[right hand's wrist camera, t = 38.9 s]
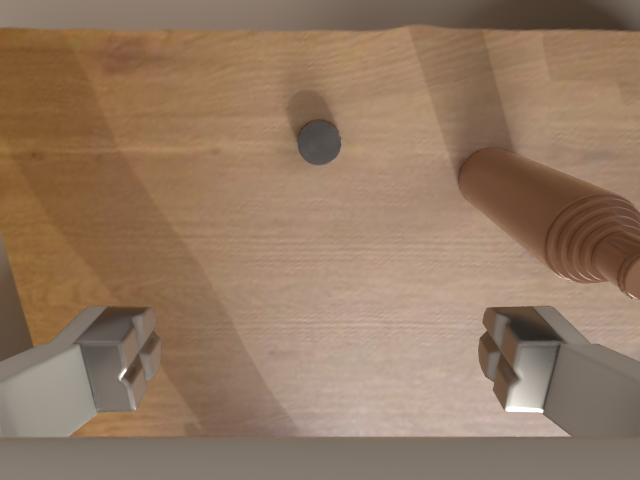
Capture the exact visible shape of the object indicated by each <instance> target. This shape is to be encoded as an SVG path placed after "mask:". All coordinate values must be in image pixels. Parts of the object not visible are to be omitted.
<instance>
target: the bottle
mask: <svg viewBox="0 0 640 480" xmlns="http://www.w3.org/2000/svg"><path fill="white" fill-rule="evenodd" d="M459 188H460V191H461V193H462V195H463V197H464V198H465V199H466V200H467V201H469V202H470V203H471V204H472V205H473V206H475V207H476V208H477V209H478V210H479V211H481V212H482V213H483V214H484V215H485V216H486V217H488V218H489V219H490V220H491V221H492V222H494V223H495V224H496V225H497V226H498V227H500V228H501V229H502V230H503V231H504V232H506V233H507V234H508V235H509V236H510V237H511V238H513V239H514V240H515V241H516V242H517V243H519V244H520V245H521V246H522V247H523V248H525V249H526V250H527V251H528V252H529V253H531V254H532V255H533V256H534V257H535V258H537V259H538V260H539V261H540V262H541V263H542V264H544V265H545V266H546V267H547V268H548V269H550V270H551V271H552V272H553V273H554V274H556V275H557V276H559V277H561V278H563V279H566V280H569V281H573V282H577V283H598V282H606V281H610V282H611V283H613V284H614V285H616V286H617V287H618V288H619V289H620V291H622V292H623V293H624V294H626V295H627V296H628V297H630V298H631V299H632V298H635V299H638V300H640V212H639V211H638V210H637V209H636V208H635V206H634V205H633V204H632V203H631V202H630V201H629V200H627V199H626V198H625V197H622V196H620V195H618V194H615V193H613V192H610V191H608V190H605V189H603V188H600V187H598V186H595V185H593V184H590V183H588V182H585V181H583V180H580V179H578V178H575V177H572V176H570V175H567V174H565V173H562V172H560V171H557V170H555V169H552V168H550V167H547V166H545V165H542V164H540V163H537V162H535V161H532V160H530V159H527V158H524V157H522V156H519V155H517V154H514V153H512V152H509V151H507V150H504V149H501V148H496V147H491V148H485V149H482V150H479V151H477V152H476V153H474V154H473V155H471V156H470V157H469V158H468V159H467V160H466V162H465V163H464V164H463V166H462V168H461V171H460V174H459Z"/></svg>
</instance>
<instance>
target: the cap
mask: <svg viewBox="0 0 640 480" xmlns="http://www.w3.org/2000/svg"><path fill="white" fill-rule="evenodd" d="M298 148H299V152H300V154H301V155H302V157H303V158H304V159H305V160H306V161H307V162H309V163H311V164H314V165H325V164H328V163H330V162H331V161H333V160H334V159H335V158H336V157H337V155H338V153H339V151H340V148H341V137H340V136H339V131H337V129H336V128H335V125H333V124H331V123H330V122H328V121H325V120H314V121H311V122H309V123H307V124H306V125H305V126H304V127H303V128H302V130H301V132H300V133H299V139H298Z"/></svg>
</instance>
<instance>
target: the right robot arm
mask: <svg viewBox="0 0 640 480" xmlns="http://www.w3.org/2000/svg"><path fill="white" fill-rule="evenodd" d="M157 323H158V322H157V317H156V313H155V310H154V309H153V308H152V307H124V306H111V307H110V306H91V307H86V308H85V309H84V310H83V311H82V312H81V313H80V314H79V315H78V316H77V317H76V318H75V319H74V320H73V321H72V322H71V323H70V324H69V325H68V326H67V327H66V328H64V329H63V330H62V331H61V332H60V333H59V334H58V335H57V336H56V337H55V338H54V339H53V340H52V341H51V342H50V343H49V344H40V345H38V346H36V347H34V348H31V349H29V350H27V351H24V352H22V353H20V354H17V355H15V356H13V357H11V358H8V359H6V360H4V361H1V362H0V480H640V362H639V361H636V360H634V359H632V358H629V357H627V356H625V355H623V354H620V353H618V352H616V351H613V350H611V349H609V348H606V347H604V346H602V345H600V344H591V343H590V342H589V341H588V340H587V339H586V338H585V337H584V336H583V335H582V334H581V333H580V332H579V331H578V330H577V329H576V328H575V327H574V326H573V325H571V324H570V323H569V322H568V321H567V320H566V319H565V318H564V317H563V316H562V315H561V314H560V313H559V312H558V311H557V310H556V309H555V308H554V307H551V306H528V307H491V308H487V309H486V311H485V313H484V317H483V322H482V323H483V324H484V326H485V328H486V329H487V331H486V332H485V333H484V334H483V335H482V336H481V337H480V340H479V348H478V353H479V362H480V365H481V369H482V371H483V373H484V375H485V377H487V378H488V379H490V380H491V381H493V382H494V387H493V391H494V393H495V395H496V396H497V398H498V400H499V402H500V404H501V405H502V407H503V409H504V411H516V412H543V414H544V415H545V416H546V417H547V418H549V419H550V420H551V421H553V422H554V423H555V424H556V425H558V426H559V427H560V428H562V429H563V430H564V431H565V432H567V433H568V434H569V435H571V436H572V437H68V436H69V435H71V434H72V433H73V432H75V431H76V430H77V429H79V428H80V427H81V426H82V425H84V424H85V423H86V422H88V421H89V420H90V419H91V418H93V417H94V416H95V415H97V412H123V411H136V409H137V407H138V405H139V404H140V402H141V400H142V398H143V396H144V395H145V393H146V391H147V387H146V382H147V381H149V380H150V379H152V378H153V377H155V375H156V373H157V371H158V369H159V365H160V361H161V357H162V346H161V340H160V337H159V336H158V335H157V334H156V333H155V332H154V331H153V329H154V328H155V326H156V324H157Z"/></svg>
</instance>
